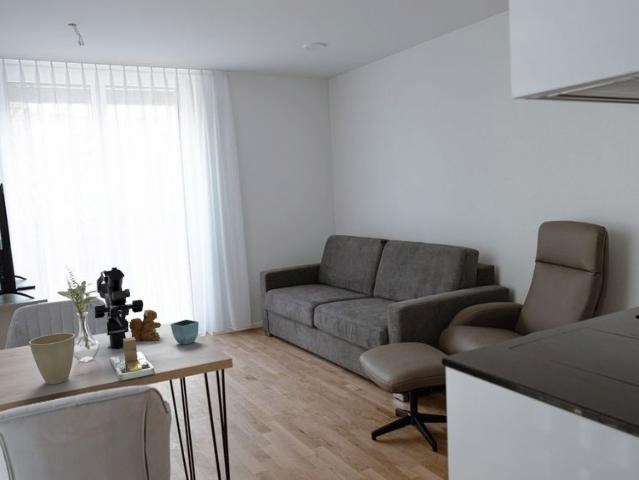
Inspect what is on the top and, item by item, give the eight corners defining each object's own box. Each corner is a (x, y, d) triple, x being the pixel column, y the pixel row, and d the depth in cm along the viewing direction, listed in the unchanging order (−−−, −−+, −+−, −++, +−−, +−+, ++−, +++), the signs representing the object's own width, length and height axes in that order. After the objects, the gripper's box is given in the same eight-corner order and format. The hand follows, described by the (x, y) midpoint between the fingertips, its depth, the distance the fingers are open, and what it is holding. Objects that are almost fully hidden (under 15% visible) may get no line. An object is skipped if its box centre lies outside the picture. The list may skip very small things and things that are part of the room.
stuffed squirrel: (161, 340, 249) (159, 311, 248) (128, 344, 246) (125, 314, 245) (162, 334, 259) (160, 306, 258) (130, 338, 256) (128, 309, 254)
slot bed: (110, 362, 221) (109, 357, 221) (141, 356, 226) (141, 351, 226) (116, 376, 205) (116, 370, 204) (150, 369, 210) (149, 363, 210)
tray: (116, 376, 205) (116, 368, 204) (150, 369, 210) (149, 361, 210) (120, 383, 197) (119, 375, 197) (154, 376, 202) (154, 368, 202)
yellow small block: (128, 373, 204) (128, 365, 204) (140, 371, 206) (139, 363, 206) (131, 377, 200) (130, 369, 200) (142, 375, 202) (141, 367, 201)
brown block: (125, 367, 211) (122, 338, 210) (136, 364, 213) (133, 336, 212) (128, 373, 204) (126, 343, 203) (140, 370, 206) (137, 341, 205)
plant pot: (85, 372, 211) (81, 331, 209) (69, 387, 196) (64, 343, 194) (45, 375, 210) (40, 333, 209) (26, 389, 196) (21, 345, 194)
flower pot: (184, 347, 237) (183, 326, 236) (171, 344, 242) (169, 324, 241) (200, 341, 244) (199, 321, 243) (187, 338, 249) (186, 319, 248)
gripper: (92, 286, 222) (98, 318, 213) (140, 280, 231) (148, 311, 222) (91, 301, 230) (97, 334, 221) (138, 295, 238) (145, 326, 230)
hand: (122, 326), depth 223 cm, fingers closed
